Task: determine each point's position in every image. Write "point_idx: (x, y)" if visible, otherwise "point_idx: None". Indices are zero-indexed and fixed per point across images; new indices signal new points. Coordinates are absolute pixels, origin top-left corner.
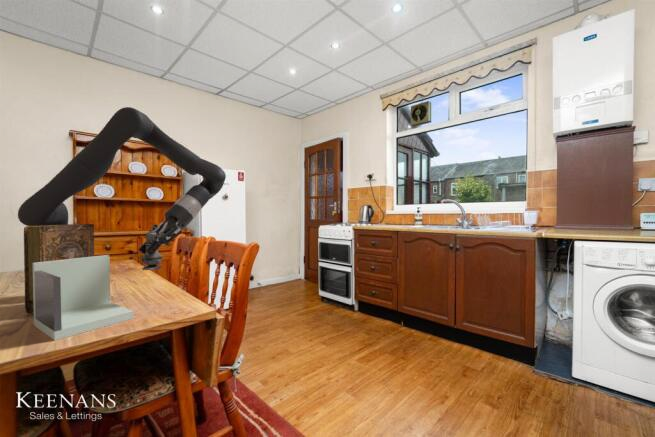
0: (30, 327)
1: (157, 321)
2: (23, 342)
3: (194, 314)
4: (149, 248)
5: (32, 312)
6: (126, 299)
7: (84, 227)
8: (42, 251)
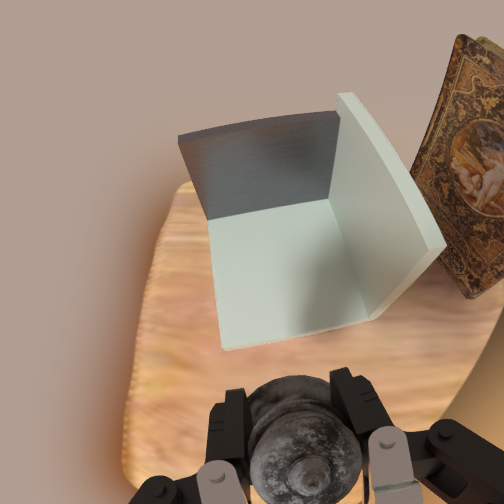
0: None
1: (158, 380)
2: None
3: (139, 453)
4: (227, 408)
5: None
6: (428, 365)
7: None
8: (445, 99)
